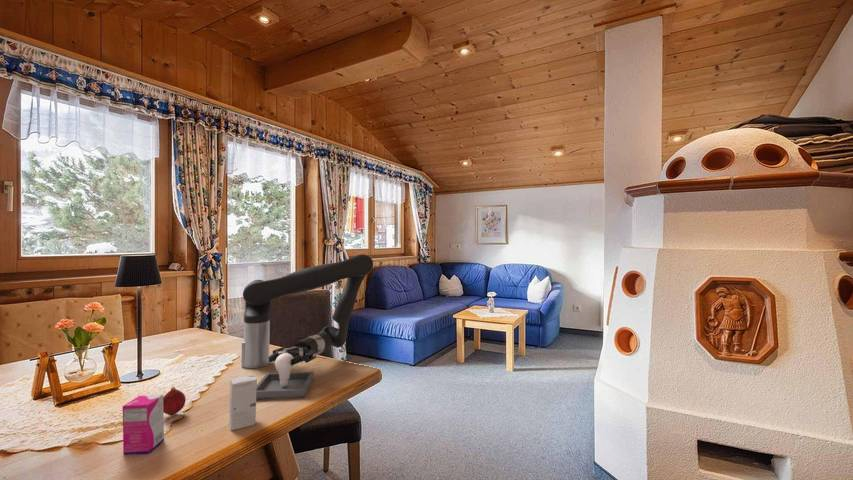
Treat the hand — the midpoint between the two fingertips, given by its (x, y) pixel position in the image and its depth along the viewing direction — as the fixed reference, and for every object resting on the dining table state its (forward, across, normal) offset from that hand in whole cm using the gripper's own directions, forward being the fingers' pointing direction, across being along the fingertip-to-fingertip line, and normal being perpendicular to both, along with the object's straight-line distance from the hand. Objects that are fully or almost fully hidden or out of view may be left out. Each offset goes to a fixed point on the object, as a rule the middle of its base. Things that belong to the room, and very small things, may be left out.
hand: (280, 360), depth 119 cm
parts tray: (-2, 0, +10) cm, 10 cm away
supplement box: (+37, -9, +10) cm, 39 cm away
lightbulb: (-2, 0, +9) cm, 10 cm away
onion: (+23, -17, +10) cm, 30 cm away
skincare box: (+21, +5, +10) cm, 24 cm away
